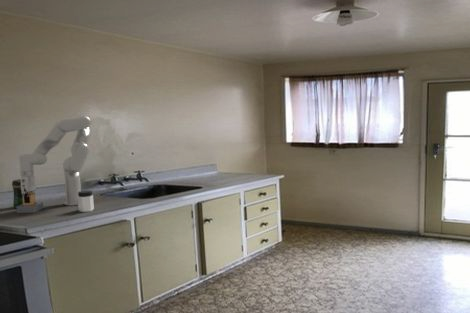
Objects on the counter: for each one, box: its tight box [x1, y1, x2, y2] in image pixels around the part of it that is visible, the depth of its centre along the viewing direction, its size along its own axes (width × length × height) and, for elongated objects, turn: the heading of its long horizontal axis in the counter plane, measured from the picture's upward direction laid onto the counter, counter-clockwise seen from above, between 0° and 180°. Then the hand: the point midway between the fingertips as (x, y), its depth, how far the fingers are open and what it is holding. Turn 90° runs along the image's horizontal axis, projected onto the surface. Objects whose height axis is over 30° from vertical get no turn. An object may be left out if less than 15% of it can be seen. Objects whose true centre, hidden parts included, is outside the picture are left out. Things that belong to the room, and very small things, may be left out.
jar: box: [77, 189, 95, 213], centre depth 245 cm, size 9×8×12 cm
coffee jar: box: [11, 178, 27, 209], centre depth 259 cm, size 10×8×19 cm
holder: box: [15, 201, 44, 214], centre depth 249 cm, size 11×11×4 cm
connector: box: [22, 191, 36, 206], centre depth 248 cm, size 6×4×8 cm
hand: (29, 201), depth 248 cm, fingers closed on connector, 4 cm apart
